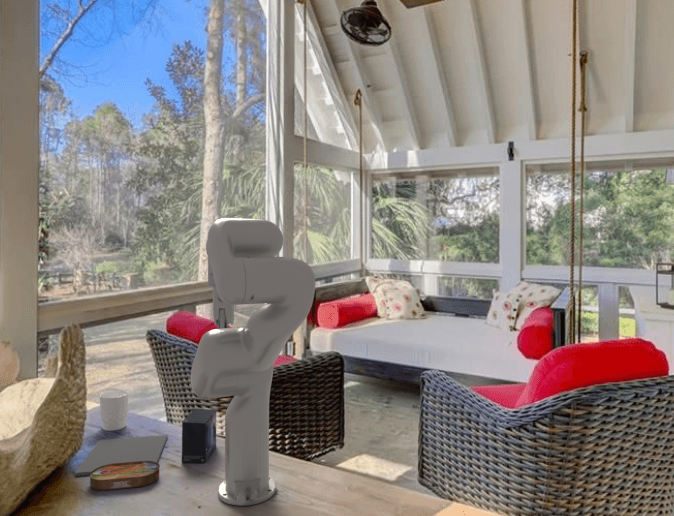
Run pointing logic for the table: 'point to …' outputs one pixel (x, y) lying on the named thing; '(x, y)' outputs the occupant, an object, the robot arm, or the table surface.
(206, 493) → the table surface
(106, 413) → the white cup
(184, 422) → the small box
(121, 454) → the mat
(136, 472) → the tin
